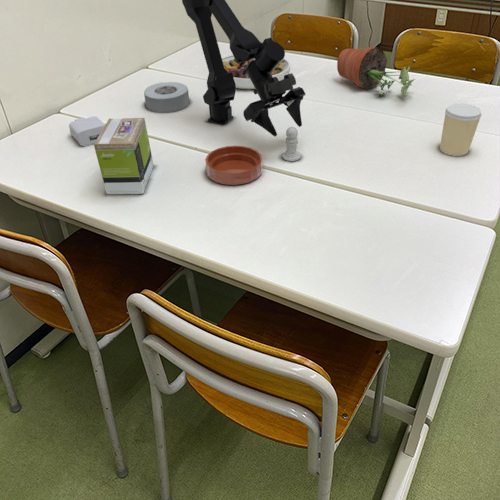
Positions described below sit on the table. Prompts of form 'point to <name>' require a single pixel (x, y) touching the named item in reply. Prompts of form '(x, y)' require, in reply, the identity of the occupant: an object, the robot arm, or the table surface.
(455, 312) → the table surface
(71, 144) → the table surface
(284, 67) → the bowl
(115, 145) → the tea box
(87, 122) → the charger
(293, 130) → the chess piece
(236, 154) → the bowl
